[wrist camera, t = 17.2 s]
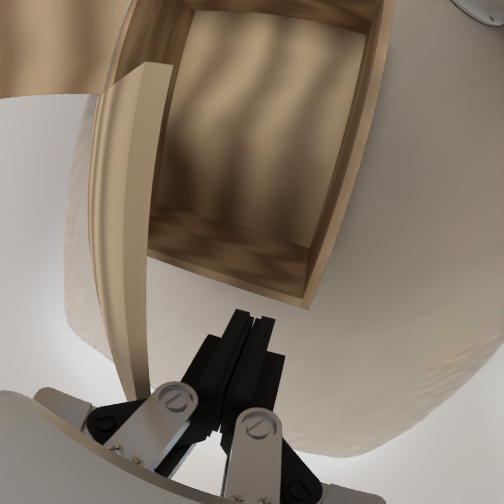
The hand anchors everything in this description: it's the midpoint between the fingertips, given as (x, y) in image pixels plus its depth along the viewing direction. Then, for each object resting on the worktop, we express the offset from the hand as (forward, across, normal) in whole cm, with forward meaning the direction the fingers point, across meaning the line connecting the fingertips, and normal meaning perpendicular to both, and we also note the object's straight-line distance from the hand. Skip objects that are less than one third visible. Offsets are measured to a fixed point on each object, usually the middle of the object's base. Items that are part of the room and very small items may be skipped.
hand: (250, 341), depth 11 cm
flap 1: (+1, +22, -17) cm, 28 cm away
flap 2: (+3, +10, -3) cm, 11 cm away
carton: (+23, +7, -9) cm, 26 cm away
